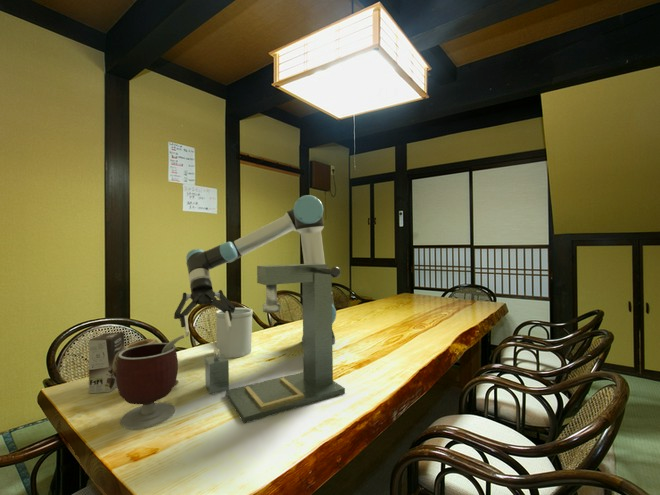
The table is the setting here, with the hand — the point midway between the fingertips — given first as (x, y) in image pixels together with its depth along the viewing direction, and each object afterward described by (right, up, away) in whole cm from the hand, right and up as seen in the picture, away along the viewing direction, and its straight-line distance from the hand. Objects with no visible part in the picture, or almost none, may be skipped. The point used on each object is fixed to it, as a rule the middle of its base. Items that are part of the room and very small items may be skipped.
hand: (209, 331), depth 109 cm
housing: (+6, -15, -9) cm, 19 cm away
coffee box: (-29, -16, -7) cm, 34 cm away
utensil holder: (+1, -15, +25) cm, 29 cm away
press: (+30, -15, -18) cm, 38 cm away
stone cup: (-15, -16, -9) cm, 24 cm away
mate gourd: (-5, -15, -25) cm, 30 cm away
